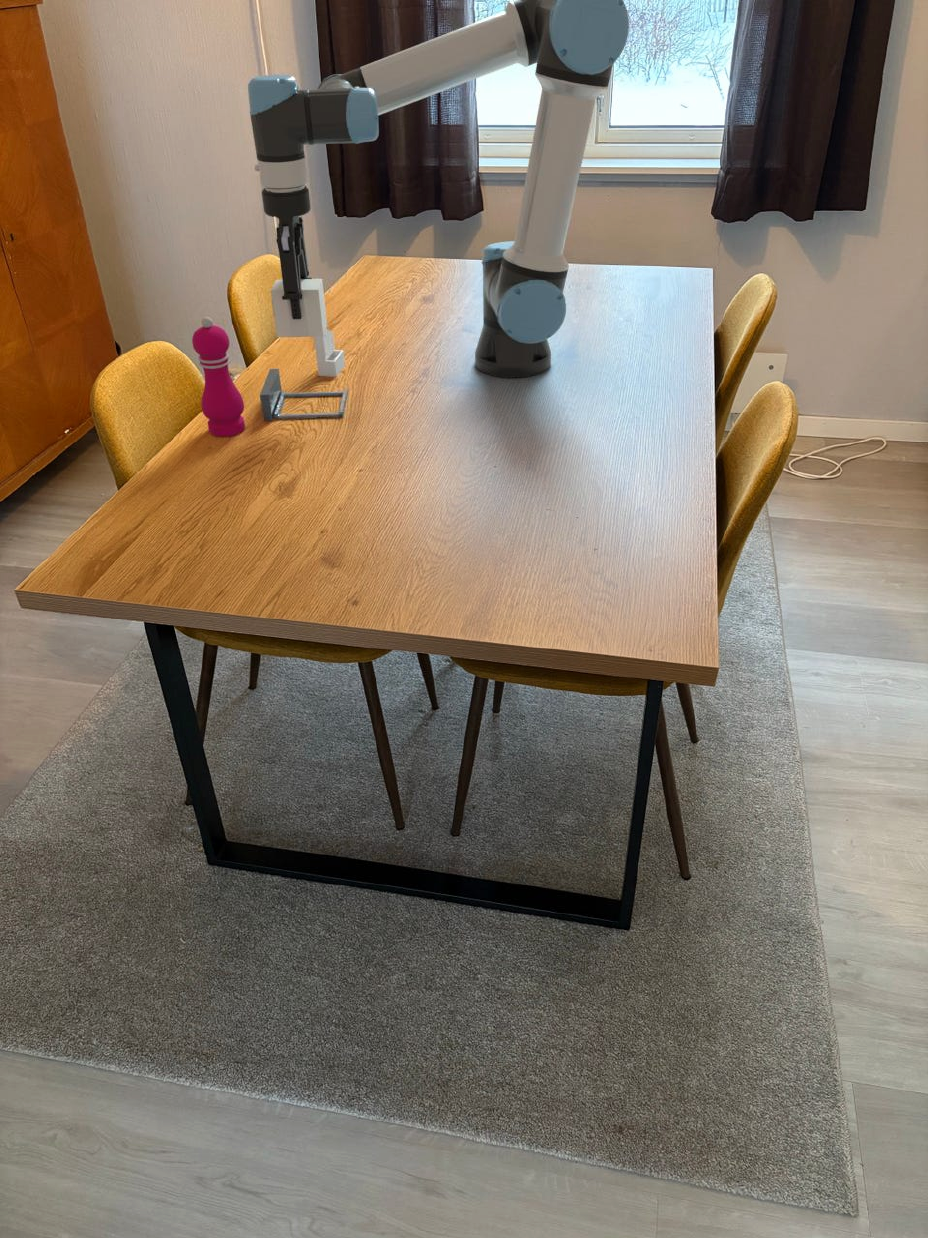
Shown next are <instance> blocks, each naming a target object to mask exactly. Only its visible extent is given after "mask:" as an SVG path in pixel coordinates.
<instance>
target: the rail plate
mask: <svg viewBox="0 0 928 1238" xmlns="http://www.w3.org/2000/svg"><path fill="white" fill-rule="evenodd" d="M281 383H282V382H281V376H280V369H279V368H270V369H269V371H268V373H267V375H266V378H265V380H264V383H263V386H262V388H261V391H260V394H259V398H260V406H261V410H262V418H263V419H262V420H263V422H274V419H275V420H284V419H285V420H286V419H290V420H291V419H318V417H320V418H319V419H322V418H321V417H331V418H344V414H345V410H346V409H345V408H346V405H347V399H348V397H349V396H348V395H349V393H348V389H347V388H344V389H343V390H342V391H341V390H337V391H309V392H308V391H305V392H304V391H303V392H301V391H300V392H286V390H283V389H282V384H281ZM335 396H336V397H340V396H341V397H342V398H341V402H340V407H339V409H338V411H339V412H318V413H317V412H316V413H315V412H314V413H312V412H311V413H287V414H286V413H282V410H283V407H284V405H285V401H286V399H287V398H298V397H299V398H302V397H303V398H305V397H308V398H309V397H335Z"/></svg>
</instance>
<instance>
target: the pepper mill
mask: <svg viewBox="0 0 928 1238" xmlns="http://www.w3.org/2000/svg"><path fill="white" fill-rule="evenodd" d="M201 325H202V326H201V327H199V328H198V329H196V330H195V331H194V332H193V336H192V338H191V340H192V341H191V343H192V347H193V349H194V352H196V353H197V354H198V355H199V356H198V361H199V366H200V367H201V368H202V369H203V373H204V374H203V375H204V386H203V392H202V395H201V412H202V414H203V416H204V417H206V419H208V421H207V426H208V432H209V434H210V435H212V436H214V437H218V438H229V437H235V436H237V435H239V434H241V433H242V432H244V431H245V429H246V424H245V419H244V417H243V415H242V414H243V412H244V410H245V402H244V400H243V396H242V395H241V393H240V391H239V390H238V388H237V386H236V384H235V383H234V382H233V379H232V377H231V374H230V371H229V364H230V362H231V360H230V358H229V357H230V354H229V353H228V352H227V351H228V350H229V347H230V337H229V335H228V333H227V331H226V330H224V328H223V327H220V326H218V325H214V322H213V319H212V317H211V318H210V317H209V316H205V317H203V318H202V320H201Z"/></svg>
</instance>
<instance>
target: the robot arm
mask: <svg viewBox="0 0 928 1238" xmlns="http://www.w3.org/2000/svg"><path fill="white" fill-rule="evenodd" d="M629 22H630V20H629V13H628V10H627V6H626V4H625V2H624V0H510V1H508V3H507V5H506V6H505V9H504V10H503V11H501V12H498V13H497V14H494V15H491V16H487V17H486V18H484V19H481V20H479V21H475V22H473V23H470V24H468V25H466V26H463V27H461V28H457V29H454V30H452V31H450V32H448V33H445V34H442V35H440V36H437V37H434V38H431V39H429V40H427V41H424V42H421V43H419V44H417V45H414V46H411V47H409V48H406V49H404V50H401V51H399V52H396V53H393V54H390V55H388V56H386V57H383V58H381V59H378V60H375V61H373V62H370V63H368V64H365V65H362V66H360V67H358V68H356V69H351V70H349V71H347V72H344V73H342V74H340V73H339V74H337V73H335V74H332V75H330V76H328V77H326V78H323V80H322V82H320V83H319V85H318V87H317V89H310V90H309V89H300V88H299V86H298V83H297V79H296V78H295V77H294V76H293V75H289V74H266V75H259V76H254V77H253V78H252V79H251V80H250V81H249V83H248V84H247V90H248V93H247V94H248V103H249V115H250V122H251V126H252V127H251V128H252V134H253V140H254V146H255V147H254V149H255V153H256V159H257V164H256V165H254V171H255V172H259V181H260V185H261V187H262V188H263V189H262V190H261V197H262V198H261V199H262V203H263V204H262V205H263V212H264V213H265V214H266V215H267V217H268V216H269V217H272V218H277V219H278V224H277V225H278V226H277V227H275V229H276V240H275V241H276V244H277V249H278V254H279V262H280V263H279V264H280V271H281V272H280V273H281V278H282V279H281V280H283V288H284V296H282V300H287V303H288V310H289V318H290V325H291V333H292V337H291V338H309V337H308V329H307V321H306V313H305V304H304V297H302V291H301V279H313V278H312V277H309V275H310V271H309V265H308V258H307V250H306V249H307V248H306V243H305V235H304V229H305V228H304V223H303V222H304V219H303V216H305V215H306V214H309V212H310V211H311V209H312V208H311V199H310V191H309V188H308V186H306V185H307V184H308V182H309V179H308V176H309V175H308V169H307V161H306V156H305V148H304V147H305V146H307V145H310V146H311V145H312V146H314V145H329V144H331V145H335V144H355V145H358V144H361V143H368V142H370V143H371V142H374V141H376V140H377V139H378V137H379V132H380V131H379V130H380V128H379V116H381V115H383V114H386V113H389V112H391V111H393V110H396V109H398V108H401V107H405V106H407V105H410V104H412V103H415V102H418V101H420V100H424V99H425V98H429V97H430V96H433V95H436V94H439V93H441V92H444V91H447V90H449V89H452V88H454V87H457V86H460V85H462V84H466V83H468V82H470V81H473V80H476V79H479V78H481V77H483V76H486V75H489V74H491V73H494V72H497V71H499V70H502V69H504V68H507V67H510V66H513V65H516V64H519V65H521V66H523V67H525V68H527V67H530V66H532V65H534V64H536V66H535V73H534V75H535V77H536V79H537V81H538V82H539V84H540V86H541V93H540V98H539V99H540V100H539V104H538V110H537V116H536V122H535V126H534V131H533V137H532V143H531V148H530V154H529V159H528V163H527V169H526V170H527V171H526V175H525V181H524V187H523V191H522V198H521V203H520V208H519V214H518V219H517V224H516V225H517V226H516V230H515V235H514V240H512V241H500V242H495V243H490V244H488V245H486V246H485V247H484V249H483V250H482V251H483V252H482V260H481V264H482V304H483V305H482V307H483V308H482V310H483V312H482V315H483V317H482V321H483V322H482V329H481V332H480V335H479V338H478V341H477V346H476V348H475V351H474V364H475V367H476V369H477V370H479V371H481V372H482V373H485V374H486V375H491V376H494V377H499V378H525V377H531V376H535V375H539V374H541V373H543V372H545V371H546V370H548V369H549V368H550V367H551V364H552V362H551V361H552V349H551V346H550V344H549V338H551V337H553V336H554V335H555V334H556V333H557V332H558V331H559V329H561V327H562V325H563V323H564V321H565V318H566V314H567V303H566V298H565V295H564V290H565V285H566V282H567V276H568V272H569V267H570V265H569V263H568V261H567V260H566V258H565V257H564V248H565V243H566V239H567V234H568V231H569V230H568V229H569V225H570V221H571V216H572V212H573V208H574V202H575V197H576V193H577V192H576V191H577V188H578V184H579V178H580V173H581V169H582V164H583V159H584V154H585V150H586V145H587V141H588V135H589V132H590V127H591V126H590V125H591V122H592V117H593V113H594V108H595V103H596V99H597V98H598V97H599V96H601V95H602V94H603V93H604V92H605V91H607V90H608V87H609V84H610V78H611V75H612V71H613V67H614V64H615V63H616V62H617V60H618V59H619V58H620V56H621V55H622V53H623V50H624V49H625V46H626V44H627V41H628V36H629V28H630V27H629V26H630V24H629Z"/></svg>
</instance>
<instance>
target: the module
mask: <svg viewBox="0 0 928 1238" xmlns="http://www.w3.org/2000/svg"><path fill="white" fill-rule="evenodd" d="M301 291H302V297H304V304H305V313H306V321H307V329H308V337H307V338H309V337H310V338H312V337H313V338H314V337H323V336H324V333H325V330H326V329H327V326H328V320H327V311H326V302H325V301H326V300H325V293H324V285H323V278H312V279H301ZM270 294H271V295H270V296H271V306H272V312H273V317H274V326H275V330H276V331H275V332H276V333H275V334H276V337H277V338H293V337H292V333H291V325H290V318H289V310H288V303H287V300H282V296H284V288H283V280H282V279H275V281H274V283H273V285H272V287H271V289H270Z"/></svg>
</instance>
